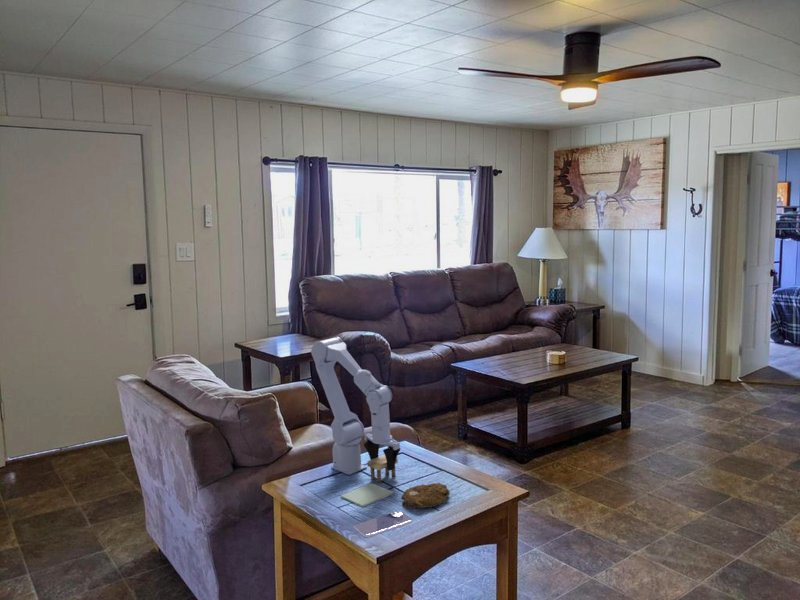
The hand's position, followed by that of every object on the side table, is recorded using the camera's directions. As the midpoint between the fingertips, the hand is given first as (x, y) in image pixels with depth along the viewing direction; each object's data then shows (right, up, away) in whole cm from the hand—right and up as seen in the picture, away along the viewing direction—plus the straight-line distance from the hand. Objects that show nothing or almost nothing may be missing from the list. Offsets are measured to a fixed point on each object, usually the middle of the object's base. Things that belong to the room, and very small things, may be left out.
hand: (382, 466), depth 196 cm
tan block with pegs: (0, -4, 0) cm, 4 cm away
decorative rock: (+13, -6, -17) cm, 22 cm away
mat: (-4, -5, -12) cm, 14 cm away
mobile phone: (+1, -8, -30) cm, 31 cm away
